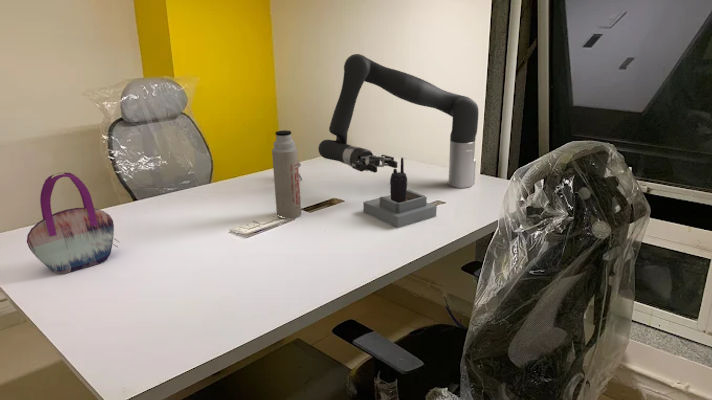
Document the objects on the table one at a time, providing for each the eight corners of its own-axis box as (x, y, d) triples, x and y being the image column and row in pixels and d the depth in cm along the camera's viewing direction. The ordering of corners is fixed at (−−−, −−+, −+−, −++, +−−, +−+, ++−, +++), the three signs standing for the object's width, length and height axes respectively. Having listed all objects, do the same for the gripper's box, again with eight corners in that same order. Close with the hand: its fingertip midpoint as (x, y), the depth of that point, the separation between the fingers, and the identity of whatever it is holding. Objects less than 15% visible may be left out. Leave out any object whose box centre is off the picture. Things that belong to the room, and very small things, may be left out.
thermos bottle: (306, 213, 170) (301, 130, 161) (289, 221, 164) (283, 134, 155) (288, 209, 175) (283, 127, 166) (271, 216, 169) (265, 132, 160)
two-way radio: (406, 200, 169) (406, 156, 164) (407, 205, 165) (408, 159, 160) (389, 201, 169) (389, 156, 164) (390, 205, 165) (390, 160, 160)
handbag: (115, 245, 148) (99, 162, 140) (127, 256, 141) (111, 169, 133) (31, 269, 135) (8, 178, 127) (39, 282, 128) (15, 186, 120)
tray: (400, 201, 179) (400, 184, 177) (436, 216, 165) (436, 197, 163) (363, 211, 171) (363, 193, 169) (398, 227, 157) (398, 207, 155)
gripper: (340, 150, 176) (369, 159, 163) (373, 144, 184) (403, 152, 171) (341, 171, 178) (369, 182, 166) (373, 164, 186) (403, 174, 174)
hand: (386, 167), depth 168 cm, fingers open, 8 cm apart
